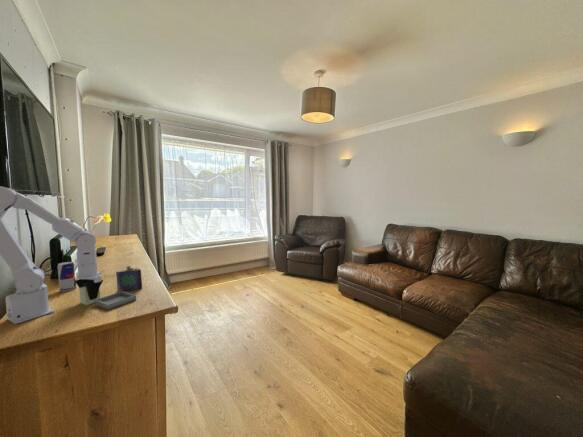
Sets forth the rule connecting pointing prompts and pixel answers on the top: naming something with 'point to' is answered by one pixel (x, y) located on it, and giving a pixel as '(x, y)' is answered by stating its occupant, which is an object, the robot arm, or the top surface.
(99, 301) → the dish
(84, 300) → the green block
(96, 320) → the top surface
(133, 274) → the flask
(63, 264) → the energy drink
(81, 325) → the top surface
